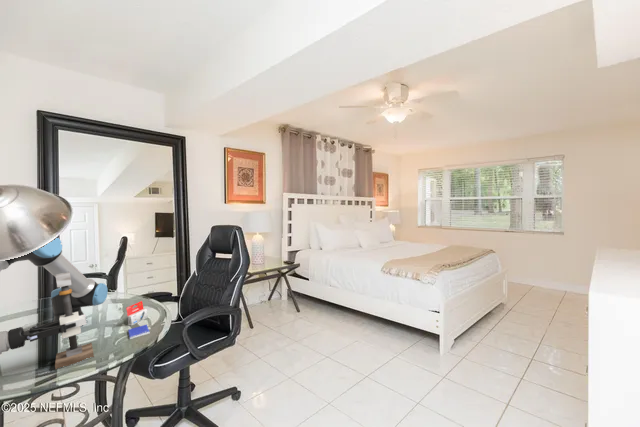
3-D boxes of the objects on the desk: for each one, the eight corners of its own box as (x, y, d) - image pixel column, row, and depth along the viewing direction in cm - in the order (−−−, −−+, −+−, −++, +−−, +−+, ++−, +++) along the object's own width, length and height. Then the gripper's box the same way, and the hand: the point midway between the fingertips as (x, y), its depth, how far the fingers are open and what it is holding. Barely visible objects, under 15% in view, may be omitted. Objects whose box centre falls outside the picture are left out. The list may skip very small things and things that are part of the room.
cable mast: (57, 358, 127) (44, 275, 125) (92, 346, 134) (80, 268, 133) (55, 369, 116) (41, 279, 115) (93, 357, 124) (81, 272, 122)
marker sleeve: (62, 334, 125) (59, 316, 125) (80, 329, 129) (78, 311, 129) (62, 338, 121) (59, 319, 120) (81, 333, 125) (78, 314, 124)
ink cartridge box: (148, 317, 168) (145, 300, 167) (132, 325, 157) (129, 307, 156) (144, 317, 168) (142, 300, 168) (128, 325, 157) (125, 307, 157)
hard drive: (149, 331, 143) (146, 324, 153) (129, 337, 139) (128, 329, 149) (149, 334, 143) (147, 327, 153) (129, 340, 139) (128, 332, 149)
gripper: (14, 342, 121) (86, 322, 135) (6, 357, 106) (88, 333, 121) (11, 324, 120) (83, 306, 135) (3, 337, 106) (85, 315, 121)
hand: (85, 319), depth 128 cm, fingers closed on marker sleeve, 6 cm apart
